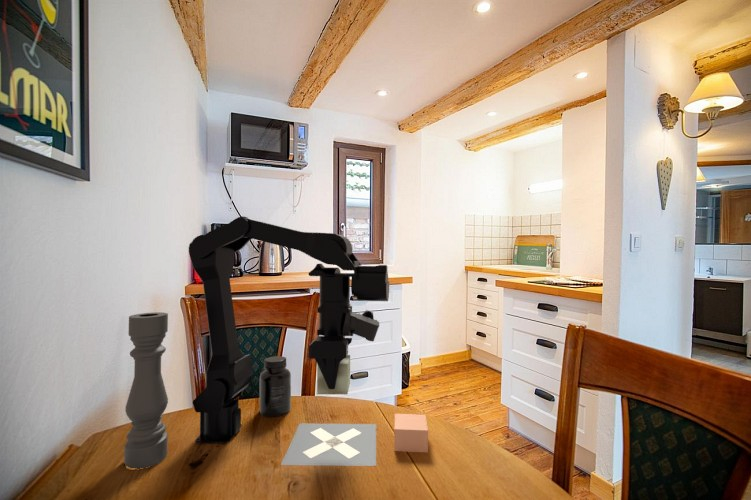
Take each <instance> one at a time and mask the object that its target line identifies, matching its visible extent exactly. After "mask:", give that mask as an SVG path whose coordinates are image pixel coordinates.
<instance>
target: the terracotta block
mask: <svg viewBox="0 0 751 500" xmlns="http://www.w3.org/2000/svg"><path fill="white" fill-rule="evenodd" d="M393 430H394V433H393V434H394V435H393V436H394V437H393V438H394V447H393V448H394V450H393V451H394V452H409V453H426V454H427V453H429V428H428V422H427V416H426V414H414V413H412V414H411V413H394V429H393Z"/></svg>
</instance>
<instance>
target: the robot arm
mask: <svg viewBox="0 0 751 500" xmlns="http://www.w3.org/2000/svg"><path fill="white" fill-rule="evenodd" d="M251 240H256V241H260V242H265V243H268V244H272V245H275V246H276V245H277V246H279V247H284V248H289V249H292V250H297V251H299V252H301V253H303V254H305V255H307V256H309V257H310V258H313V259H315V260H317V261H319V262H320V263H316V265H315V267H314V268H313V269H312V270H310V271H309V272H308V276H309V277H319V303H318V304H319V305H318V306H317V308H316V309H317V313H318V317H319V319H318V320H319V321H318V323H319V324H318V327H317V330H316V335H317V336H316V337H315V338H314V339H313V341H311V343H310V344H309V346H308V358H309V359H313V360H314V361H315V362H316V364H318V366H319V368H320V370H321V373H322V375H323V377H324V379H325V382H326V384H327V386H328V388H329V389H335V385H336V380H337V375H338V369H339V364H340V362H341V361H342V360H343V359H344V358H346V357H347V355H349V345H350V344H351V343H352V342H353V341H352V340H353V338H352V337H353V336H354V335H355V336H358V337H361V338H364V339H365V340H366V341H369V342H375V338H376V336H377V333H378V330H379V328H380V321H379V320H377V319H375V317H374V312H373V311H370V310H368V309H366V310H365V311H364V312H362V313H357V312H354V311H353V305H351V303H350V302H351V296H350V295H352V296H353V297H356V300H357V301H359V302H363V301H364V302H388V301H389V298H390V281H389V271H388V265H387V264H378V265H362V263H361V262H360V260H359V259H358V258H357V257H356V255H355V253H353V245H352V243H351V241H350V239H349V238H348V237H346V236H344V235H341V234H338V233H331V232H328V233H327V232H307V231H301V230H298V229H292V228H289V227H284V226H280V225H275V224H271V223H267V222H263V221H259V220H257V219H255V218H252V217H249V216H239V217H236V218H235V219H233V220H231V221H230V222H229V223H226V224H224V225H221V226H220V227H216V228H215V229H212V230H210V231H208V232H207V233H206V234H199V235H198V236H195V237H194V238H193V239H192V241H191V242H190V243H189V245H188V255H189V258H190V259H189V260H190V261H191V265H192V268H193V270H194V271H195V273H196V274H197V275H198V277H199V279H200V280H201V281H202V284H203V293H204V302H205V308H206V316H207V317H206V319H207V324H208V331H209V340H210V346H211V357H210V360H209V364H208V366H207V369H206V372H205V373H206V374H205V375H206V376H205V388H204V389H203V390H202V391H201V392H200V393H199V394H198V395H197V396H196V397H195V398H194V399H193V400H192V405H193V408H194V411H195V413H199V435H198V436H197V437H196V439H195V440H194V443H195V444H227V443H229V442H230V441H231V440H232V439H233V437H234V436H236V435H237V434H238V432H239V431H241V430H240V429H242V427H243V424H242V409H241V408H240V407H239V404H240V402H239V398H240V397H241V396H242V395H243V392H244V391H245V389H246V388H247V387H248V386H249V384H250V383H251V382H252V376H253V374H254V373H255V371H254V369H253V367H252V355H251V354H250V353H249V354H245V355H244V353H243V352H242V350H241V349H240V347H239V343H238V340H239V339H238V333H237V327H236V326H237V325H236V318H235V310H234V304H233V296H232V288H231V280H230V279H231V275H232V273H233V272H232V271H233V269H234V266H235V253H238V252H239V251H240V250H242V249H244V247H245V246H246V245H248V243H249V242H250V241H251ZM321 262H322V263H321ZM323 263H324V264H326V265H331V266H332V265H333V266H334V265H335V266H337V267H327V266H326V267H325V266H324V264H323ZM341 270H342V271H353V272H341ZM350 292H351V293H350Z"/></svg>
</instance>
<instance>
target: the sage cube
mask: <svg viewBox="0 0 751 500" xmlns="http://www.w3.org/2000/svg"><path fill="white" fill-rule="evenodd" d="M316 364H317V363H316ZM316 367H317V371H316V373H317V374H316V376H317V377H316V379H317V380H316V384H317V385H316V395H348V394H349V388H350V384H351V354H348V355H347V357H346V358H344V359H343V360H342V361H341V362H340V364H339V369H338V375H337V380H336V385H335V389H329V388H328V386H327V384H326V382H325V379H324V377H323V375H322V373H321V370H320V368H319V366H318V364H317V366H316Z"/></svg>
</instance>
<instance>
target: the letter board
mask: <svg viewBox="0 0 751 500" xmlns="http://www.w3.org/2000/svg"><path fill="white" fill-rule="evenodd" d="M280 465H281V466H333V467H334V466H336V467H338V466H339V467H340V466H342V467H343V466H345V467H346V466H347V467H349V466H350V467H351V466H352V467H354V466H355V467H356V466H357V467H361V466H362V467H363V466H364V467H368V466H369V467H376V466H377V423H302V422H301V423H299V424H298V426H297V429H296V431H295V433H294V436H293V437H292V440H291V442H290V444H289V447H288V448H287V450H286V452H285V455H284V457H283V459H282V461H281V464H280Z"/></svg>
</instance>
